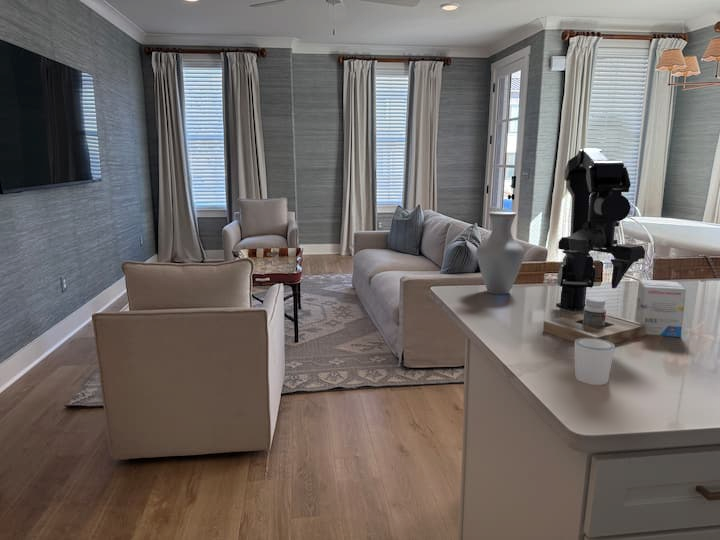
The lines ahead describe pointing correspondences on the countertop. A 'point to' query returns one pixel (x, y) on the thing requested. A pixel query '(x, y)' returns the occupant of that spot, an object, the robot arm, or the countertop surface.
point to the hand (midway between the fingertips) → (595, 284)
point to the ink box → (660, 307)
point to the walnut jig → (612, 332)
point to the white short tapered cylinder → (593, 360)
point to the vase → (500, 255)
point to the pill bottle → (594, 313)
